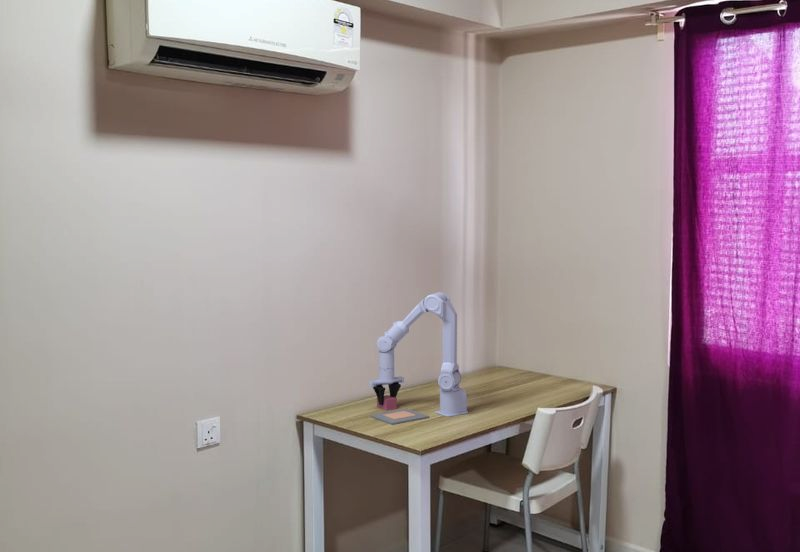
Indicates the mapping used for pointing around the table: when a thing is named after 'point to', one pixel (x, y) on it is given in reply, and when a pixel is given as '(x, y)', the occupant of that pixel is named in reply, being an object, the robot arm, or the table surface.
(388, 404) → the pink rectangular block
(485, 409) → the table surface
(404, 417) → the mat
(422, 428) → the table surface
